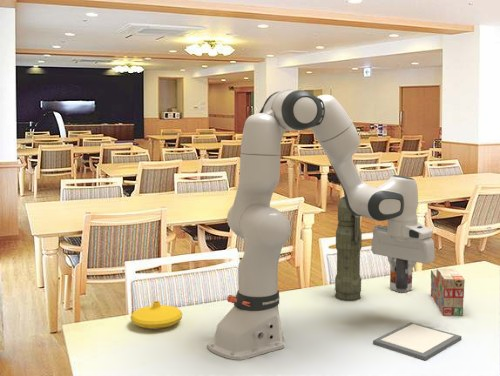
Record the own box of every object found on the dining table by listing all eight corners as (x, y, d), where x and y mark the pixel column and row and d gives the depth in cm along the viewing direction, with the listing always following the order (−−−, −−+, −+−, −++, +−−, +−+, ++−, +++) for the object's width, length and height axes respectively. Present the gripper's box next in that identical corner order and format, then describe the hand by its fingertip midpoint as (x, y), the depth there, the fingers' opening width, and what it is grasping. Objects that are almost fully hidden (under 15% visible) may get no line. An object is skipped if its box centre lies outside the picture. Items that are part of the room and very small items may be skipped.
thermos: (347, 290, 215) (348, 194, 210) (368, 299, 204) (370, 198, 200) (327, 294, 211) (328, 196, 206) (347, 303, 200) (348, 200, 196)
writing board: (425, 360, 155) (425, 356, 155) (372, 343, 166) (372, 339, 166) (461, 339, 169) (461, 335, 168) (410, 325, 180) (411, 321, 180)
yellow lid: (120, 329, 179) (119, 306, 179) (150, 313, 194) (150, 291, 193) (163, 337, 173) (163, 313, 172) (192, 320, 187) (191, 298, 186)
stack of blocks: (430, 295, 209) (431, 261, 207) (448, 295, 208) (449, 261, 207) (442, 316, 188) (444, 278, 186) (463, 316, 187) (464, 278, 186)
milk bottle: (385, 287, 219) (386, 233, 216) (404, 284, 221) (405, 231, 218) (396, 293, 211) (398, 237, 209) (415, 290, 214) (417, 236, 211)
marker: (403, 294, 181) (404, 247, 179) (392, 292, 184) (393, 246, 182) (410, 291, 184) (411, 245, 182) (399, 289, 187) (400, 243, 185)
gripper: (367, 225, 186) (367, 268, 188) (427, 234, 172) (426, 281, 174) (378, 222, 191) (378, 264, 193) (438, 231, 176) (436, 276, 178)
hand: (401, 272), depth 183 cm, fingers closed on marker, 4 cm apart
